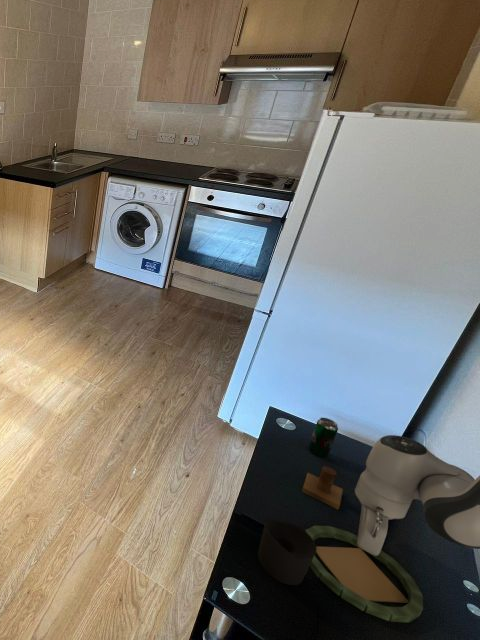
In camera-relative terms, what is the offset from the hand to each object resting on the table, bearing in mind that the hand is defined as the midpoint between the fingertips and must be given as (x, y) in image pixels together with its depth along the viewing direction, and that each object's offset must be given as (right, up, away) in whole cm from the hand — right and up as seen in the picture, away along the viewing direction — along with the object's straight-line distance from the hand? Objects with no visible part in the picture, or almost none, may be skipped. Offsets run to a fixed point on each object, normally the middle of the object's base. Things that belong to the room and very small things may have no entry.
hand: (363, 539), depth 100 cm
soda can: (+15, +7, +31) cm, 35 cm away
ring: (-7, -4, -5) cm, 10 cm away
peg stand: (+4, +2, +16) cm, 16 cm away
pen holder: (-25, -3, -4) cm, 25 cm away
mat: (-7, -4, -6) cm, 10 cm away
